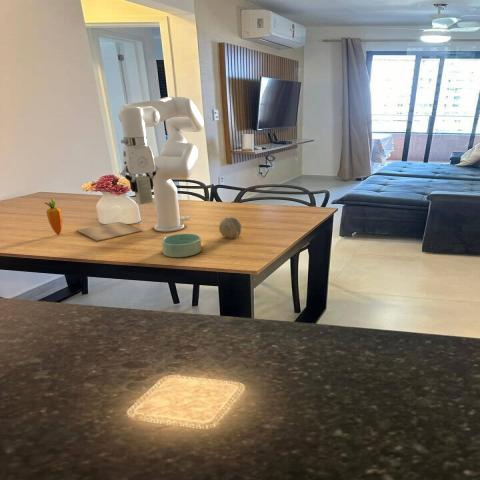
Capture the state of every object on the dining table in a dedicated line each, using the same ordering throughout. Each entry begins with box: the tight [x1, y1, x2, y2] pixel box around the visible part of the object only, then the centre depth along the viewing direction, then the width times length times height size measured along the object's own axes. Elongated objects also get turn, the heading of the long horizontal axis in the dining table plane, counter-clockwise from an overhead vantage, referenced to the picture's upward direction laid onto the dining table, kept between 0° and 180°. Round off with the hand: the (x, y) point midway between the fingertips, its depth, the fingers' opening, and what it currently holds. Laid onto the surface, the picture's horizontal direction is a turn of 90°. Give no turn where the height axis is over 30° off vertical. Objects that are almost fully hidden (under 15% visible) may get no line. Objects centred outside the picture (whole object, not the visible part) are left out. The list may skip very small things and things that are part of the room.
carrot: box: [44, 198, 63, 236], centre depth 156 cm, size 5×5×15 cm
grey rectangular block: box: [134, 175, 154, 205], centre depth 146 cm, size 5×4×10 cm
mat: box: [76, 221, 142, 242], centre depth 164 cm, size 18×20×1 cm
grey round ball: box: [218, 216, 243, 240], centre depth 159 cm, size 9×8×10 cm
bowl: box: [161, 233, 202, 258], centre depth 142 cm, size 14×14×5 cm
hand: (142, 190), depth 146 cm, fingers closed on grey rectangular block, 5 cm apart
